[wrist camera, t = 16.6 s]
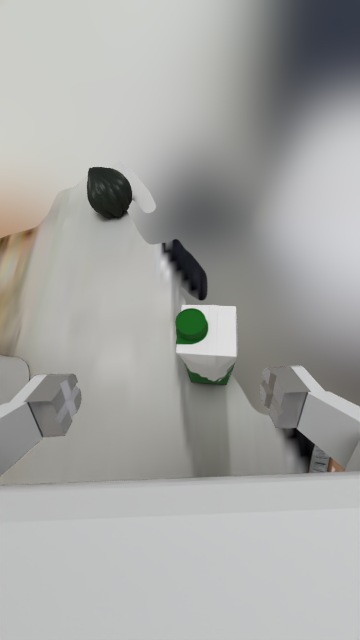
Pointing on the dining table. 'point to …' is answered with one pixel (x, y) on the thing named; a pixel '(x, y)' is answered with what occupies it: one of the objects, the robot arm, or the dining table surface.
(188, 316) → the milk carton
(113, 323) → the dining table surface
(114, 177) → the squash
